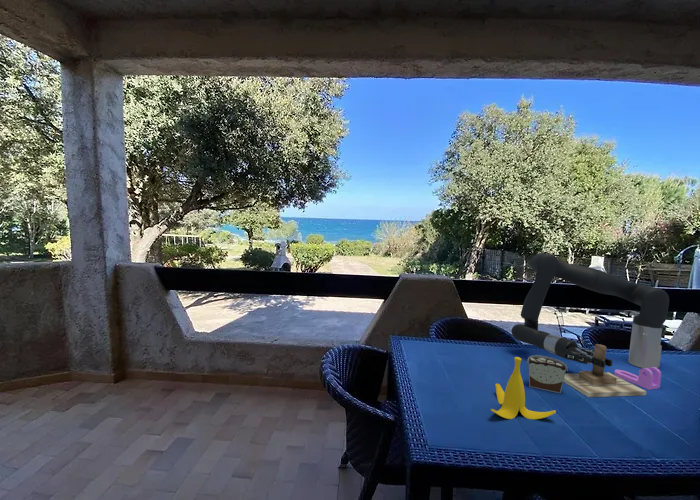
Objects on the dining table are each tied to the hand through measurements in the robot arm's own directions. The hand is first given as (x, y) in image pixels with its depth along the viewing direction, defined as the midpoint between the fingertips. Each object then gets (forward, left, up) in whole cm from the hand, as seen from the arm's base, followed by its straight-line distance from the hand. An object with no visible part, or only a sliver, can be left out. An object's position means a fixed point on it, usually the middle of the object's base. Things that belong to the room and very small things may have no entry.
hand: (607, 364), depth 116 cm
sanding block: (+1, -3, -8) cm, 8 cm away
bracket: (-19, -6, -10) cm, 22 cm away
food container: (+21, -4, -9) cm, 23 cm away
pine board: (0, -3, -9) cm, 10 cm away
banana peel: (+44, +11, -10) cm, 46 cm away
